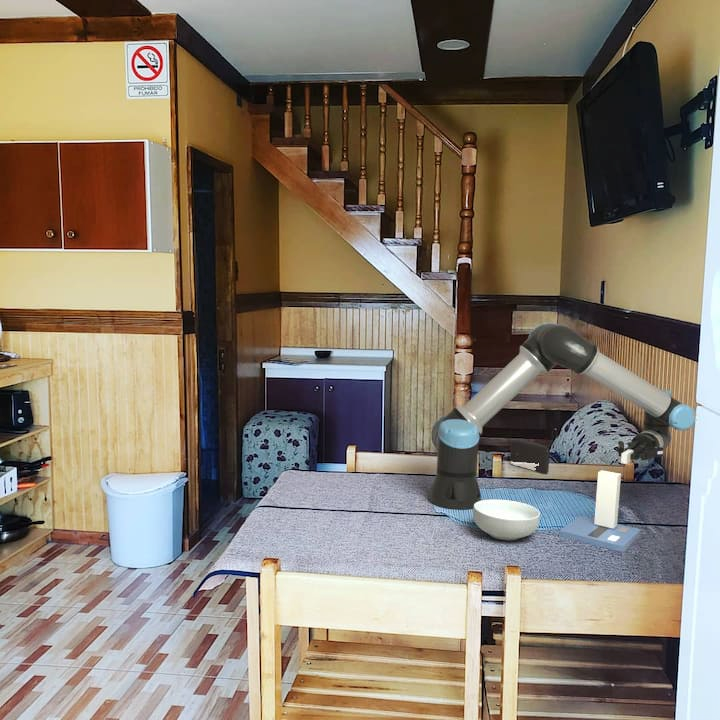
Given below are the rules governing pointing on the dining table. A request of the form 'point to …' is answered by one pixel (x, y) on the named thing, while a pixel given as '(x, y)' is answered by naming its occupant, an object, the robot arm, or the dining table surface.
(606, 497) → the white upright block
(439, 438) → the robot arm
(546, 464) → the leaning round-cornered charcoal block
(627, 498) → the dining table surface
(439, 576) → the dining table surface
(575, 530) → the switch board
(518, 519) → the cereal bowl
